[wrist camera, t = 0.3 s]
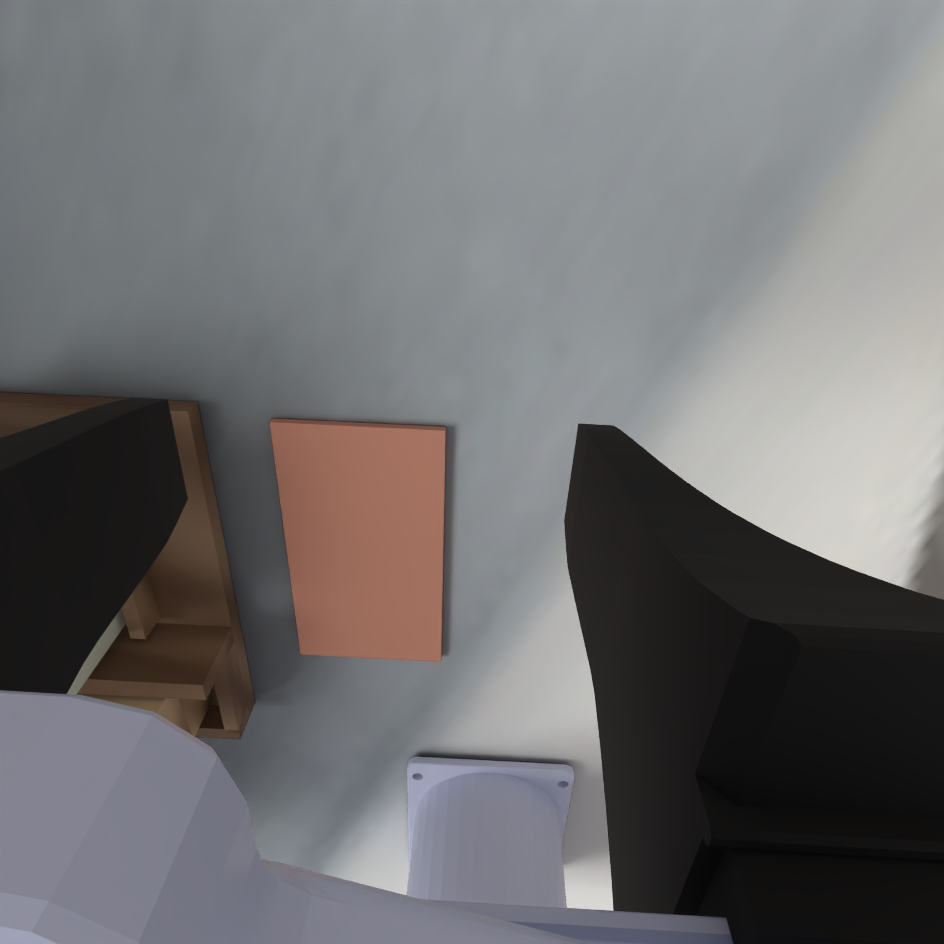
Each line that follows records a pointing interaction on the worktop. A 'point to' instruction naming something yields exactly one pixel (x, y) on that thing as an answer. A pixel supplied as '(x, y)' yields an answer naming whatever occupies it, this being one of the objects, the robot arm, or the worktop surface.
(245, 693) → the rack
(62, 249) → the worktop surface
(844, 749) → the robot arm
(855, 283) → the worktop surface
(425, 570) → the mat
